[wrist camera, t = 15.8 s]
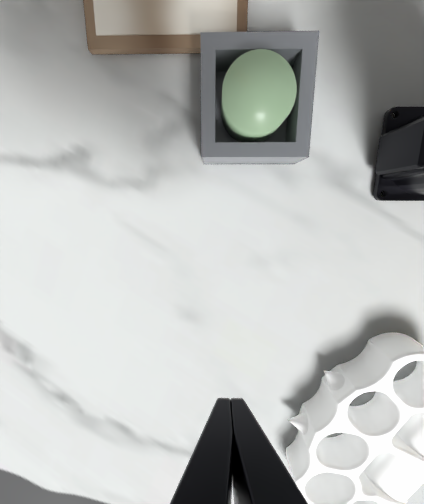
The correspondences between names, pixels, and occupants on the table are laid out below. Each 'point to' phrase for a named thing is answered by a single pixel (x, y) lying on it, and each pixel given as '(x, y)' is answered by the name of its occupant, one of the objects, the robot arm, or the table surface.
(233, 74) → the button
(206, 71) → the button housing
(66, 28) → the table surface
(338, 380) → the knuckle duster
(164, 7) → the board
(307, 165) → the table surface
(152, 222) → the table surface
